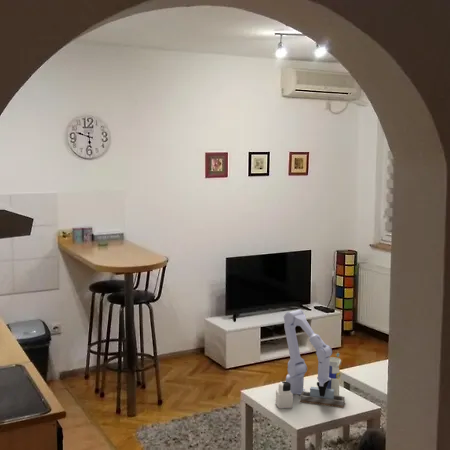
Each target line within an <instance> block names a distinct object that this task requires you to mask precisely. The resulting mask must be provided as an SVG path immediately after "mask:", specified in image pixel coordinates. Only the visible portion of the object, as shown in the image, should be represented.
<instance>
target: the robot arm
mask: <svg viewBox="0 0 450 450" xmlns="http://www.w3.org/2000/svg"><path fill="white" fill-rule="evenodd" d="M283 321H284V325H283V326H284V331H285V332H284V333H285V338H286V342H287V347H288V353H289V357H290V358H289V360H288V362H287V374H286V377H285V382H289V383H290V384H291V389H290V391H291V393H292V394H293V395H298V396H299V395H300V396H301V393H302V391H304V392H306V391H305V390H306V389H305V388H304V382H305V379H304V378H305V374H306V373H307V371H308V366H307V364H306V363H305V359H304V358H302V357H301V353H300V348H299V341H298V337H297V332H296V327H300V328H301V329H302V331H304V333H305V334H306V335H307V336H308V337H309V340H308V341H309V342H310V344H311V345H312V347H313V348H314V349H315V354H316V356H317V361H318V362H317V364H318V366H317V382H316V387H318V388H319V393H320V396H323V397H324V395H325V391H326V388H327V386H328V383H329V380H331V378H329V364H330V357H332V355H333V349H332V347H331V346H330V345H328V344H326V343H325V341H324V340H323V339H322V338H321V337H322V336H321V335H320V334H319V333H315V331H314V329H312V326H311V325H310V323H309V321H307V316H306V314H305V313H304V311H303V310H302V309H297V310H292V311H287V312H286V313H285V314H284V316H283Z"/></svg>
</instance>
